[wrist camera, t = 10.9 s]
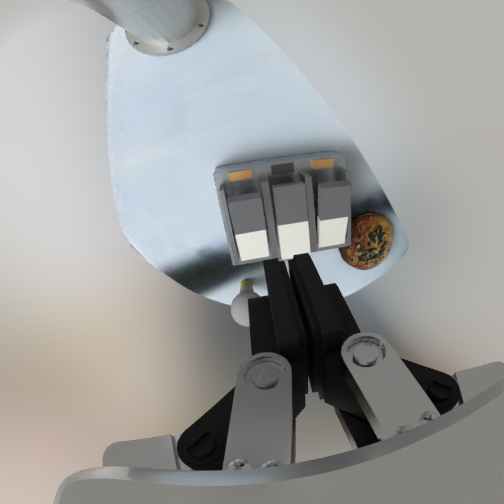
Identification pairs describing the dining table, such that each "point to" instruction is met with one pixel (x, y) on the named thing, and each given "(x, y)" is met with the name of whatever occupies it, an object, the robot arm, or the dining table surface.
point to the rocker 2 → (291, 218)
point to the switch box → (261, 180)
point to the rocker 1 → (249, 225)
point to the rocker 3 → (332, 212)
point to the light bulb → (242, 303)
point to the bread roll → (368, 241)
